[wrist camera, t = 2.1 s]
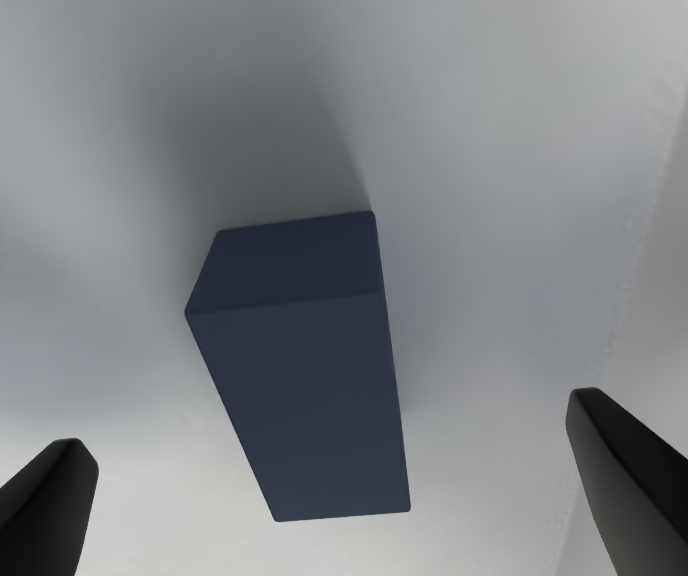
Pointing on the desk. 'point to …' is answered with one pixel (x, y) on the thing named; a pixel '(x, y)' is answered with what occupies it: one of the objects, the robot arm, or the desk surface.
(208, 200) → the desk surface
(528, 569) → the desk surface
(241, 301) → the eraser
